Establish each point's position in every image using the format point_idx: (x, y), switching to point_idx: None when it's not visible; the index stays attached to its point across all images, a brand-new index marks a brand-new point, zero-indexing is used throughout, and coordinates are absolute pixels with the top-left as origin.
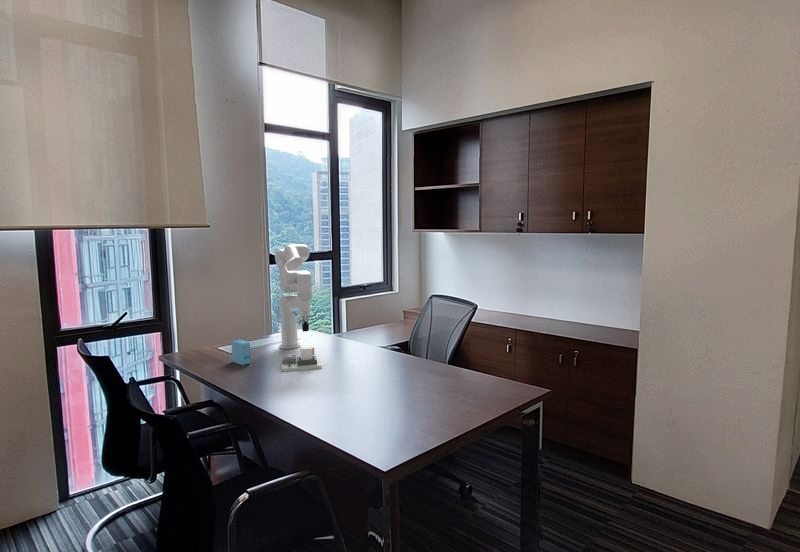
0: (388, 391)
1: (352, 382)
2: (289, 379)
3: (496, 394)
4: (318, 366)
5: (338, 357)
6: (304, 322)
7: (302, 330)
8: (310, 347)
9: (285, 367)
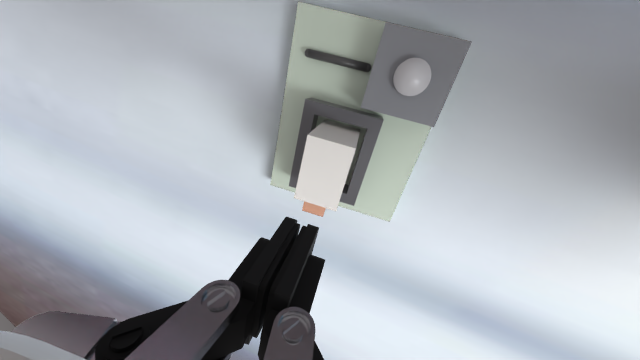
0: (55, 229)
1: (118, 197)
2: (182, 17)
3: None
4: (272, 173)
5: (378, 277)
6: (161, 314)
7: (283, 220)
8: (322, 198)
9: (313, 29)
